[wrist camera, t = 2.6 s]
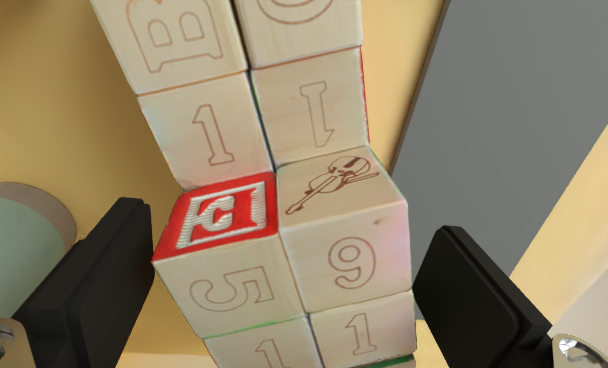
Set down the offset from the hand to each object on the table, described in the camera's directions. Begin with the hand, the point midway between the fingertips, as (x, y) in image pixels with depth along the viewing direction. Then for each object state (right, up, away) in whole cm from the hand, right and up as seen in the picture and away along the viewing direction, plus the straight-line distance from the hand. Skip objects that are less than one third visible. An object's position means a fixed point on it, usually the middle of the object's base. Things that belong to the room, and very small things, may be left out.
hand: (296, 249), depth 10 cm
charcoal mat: (+12, +2, +12) cm, 17 cm away
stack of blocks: (-1, +6, +8) cm, 10 cm away
